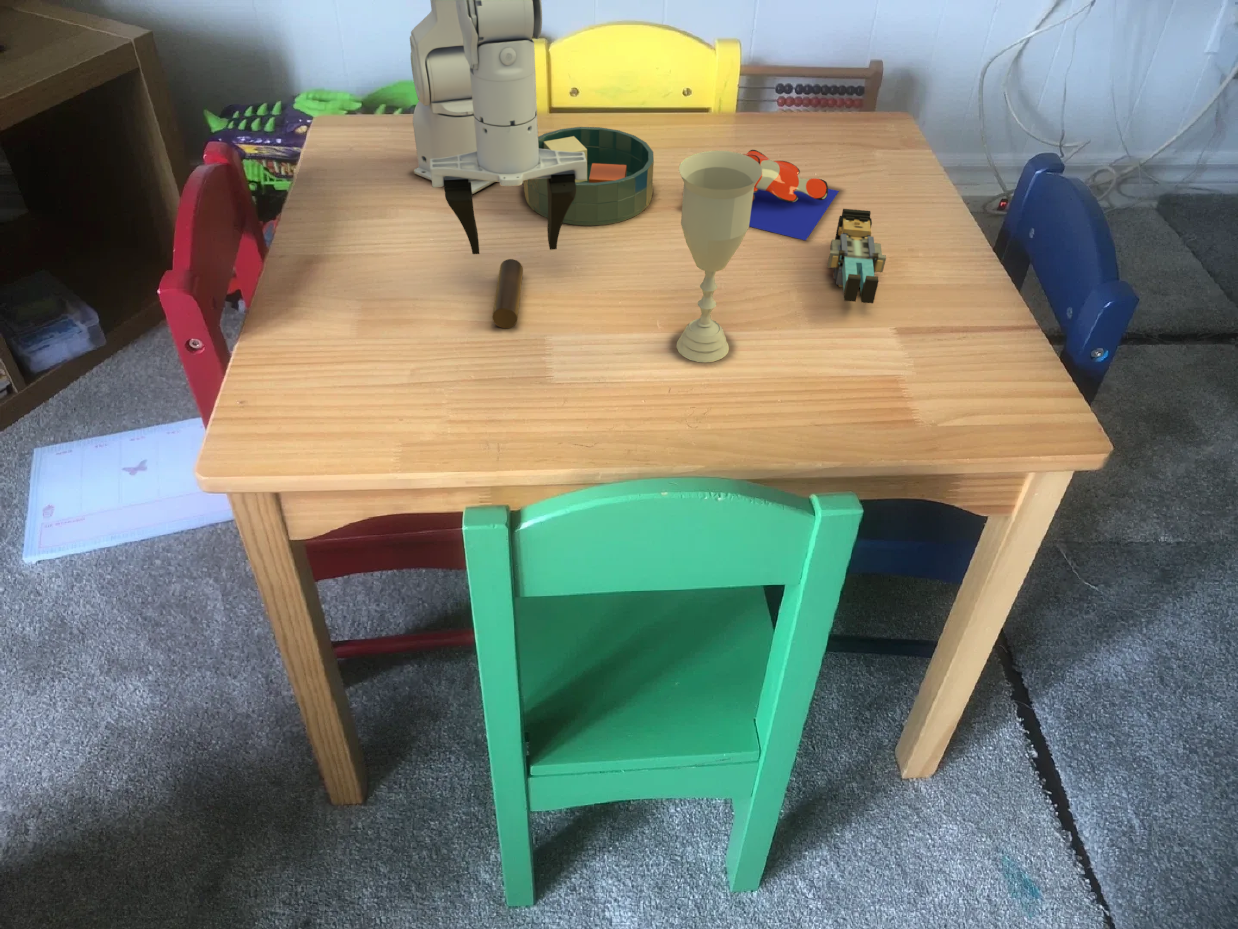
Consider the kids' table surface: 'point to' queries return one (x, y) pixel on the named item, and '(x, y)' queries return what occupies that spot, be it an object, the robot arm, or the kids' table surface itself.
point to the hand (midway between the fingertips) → (514, 246)
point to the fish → (787, 199)
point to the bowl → (601, 198)
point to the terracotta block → (606, 172)
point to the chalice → (714, 234)
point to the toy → (856, 256)
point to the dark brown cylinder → (508, 294)
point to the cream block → (566, 147)
